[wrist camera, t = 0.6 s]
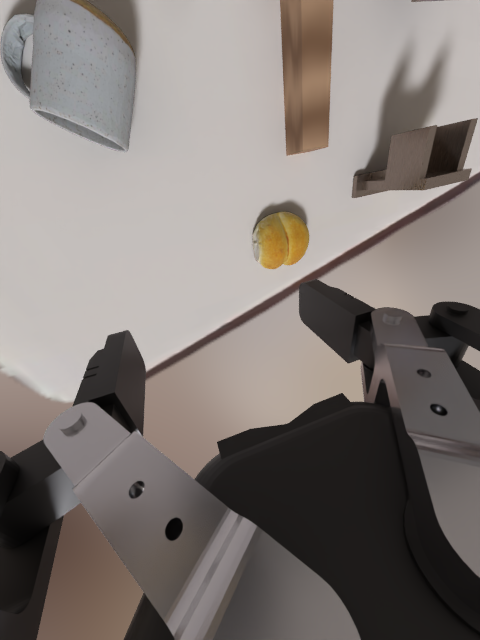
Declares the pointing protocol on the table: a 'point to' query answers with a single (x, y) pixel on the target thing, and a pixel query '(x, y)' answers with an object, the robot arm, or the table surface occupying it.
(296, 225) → the bread roll
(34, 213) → the table surface
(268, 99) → the table surface
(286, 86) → the rail
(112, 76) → the ceramic mug
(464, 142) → the brackets
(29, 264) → the table surface
